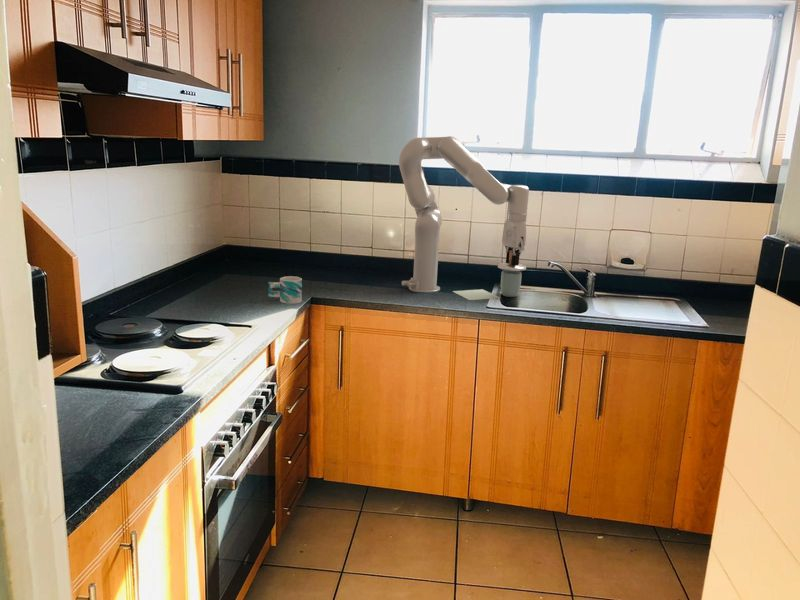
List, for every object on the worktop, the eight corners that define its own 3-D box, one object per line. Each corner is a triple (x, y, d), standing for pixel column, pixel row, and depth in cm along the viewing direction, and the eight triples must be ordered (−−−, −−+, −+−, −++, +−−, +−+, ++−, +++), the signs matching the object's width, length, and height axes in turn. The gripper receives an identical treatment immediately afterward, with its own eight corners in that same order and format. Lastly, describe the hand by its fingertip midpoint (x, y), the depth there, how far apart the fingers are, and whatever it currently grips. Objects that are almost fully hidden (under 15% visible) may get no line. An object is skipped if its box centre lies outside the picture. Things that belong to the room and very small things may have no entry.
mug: (301, 303, 238) (301, 281, 236) (267, 303, 237) (267, 280, 235) (301, 298, 246) (302, 276, 244) (269, 297, 245) (269, 275, 242)
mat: (469, 301, 252) (469, 299, 252) (452, 292, 265) (452, 291, 264) (500, 299, 258) (500, 297, 258) (482, 290, 270) (482, 289, 270)
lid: (507, 271, 253) (509, 253, 251) (492, 265, 262) (493, 248, 261) (531, 270, 257) (533, 252, 256) (515, 264, 267) (517, 247, 265)
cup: (520, 299, 259) (523, 274, 256) (501, 298, 259) (503, 273, 257) (517, 294, 267) (520, 270, 264) (498, 293, 267) (500, 269, 264)
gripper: (496, 214, 261) (493, 260, 265) (520, 220, 246) (515, 268, 251) (513, 214, 264) (508, 259, 268) (536, 220, 249) (532, 268, 254)
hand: (512, 263), depth 259 cm, fingers closed on lid, 3 cm apart
